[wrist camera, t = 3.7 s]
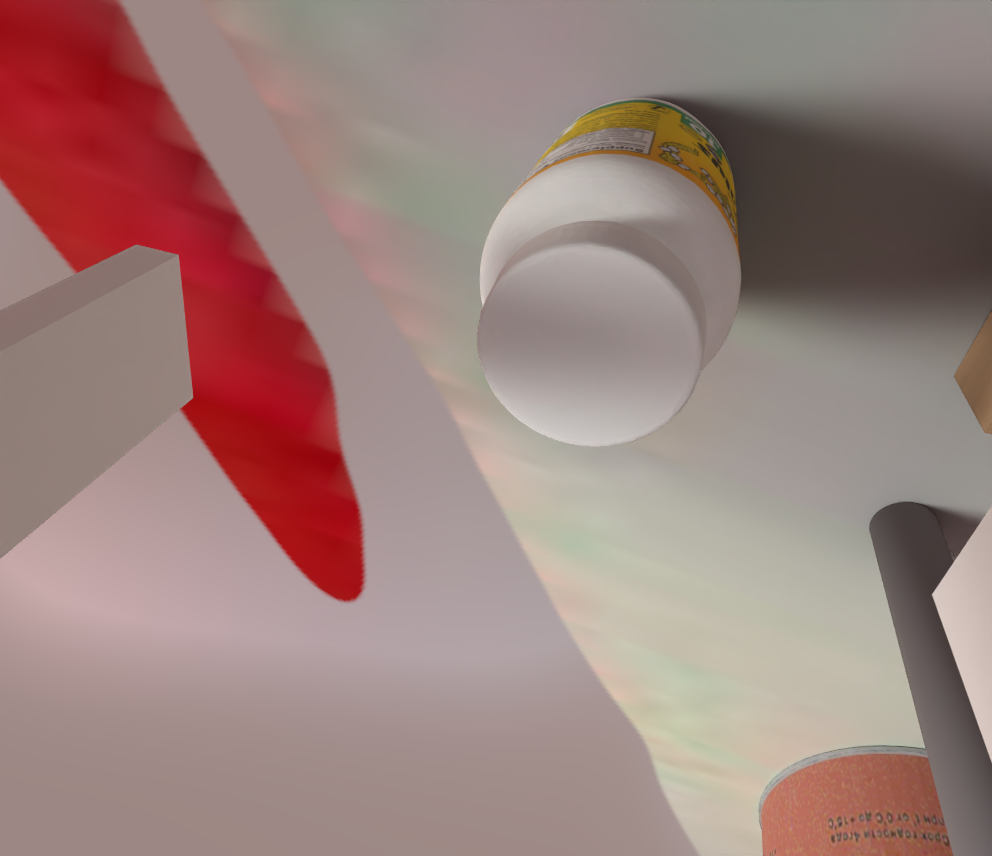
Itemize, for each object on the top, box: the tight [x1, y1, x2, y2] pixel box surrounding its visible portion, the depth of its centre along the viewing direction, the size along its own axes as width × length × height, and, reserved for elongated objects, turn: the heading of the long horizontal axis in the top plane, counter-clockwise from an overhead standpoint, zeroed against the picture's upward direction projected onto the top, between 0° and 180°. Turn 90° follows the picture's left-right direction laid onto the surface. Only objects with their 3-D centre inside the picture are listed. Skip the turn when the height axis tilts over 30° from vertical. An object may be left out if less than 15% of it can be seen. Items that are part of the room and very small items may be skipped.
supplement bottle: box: [478, 97, 742, 447], centre depth 17 cm, size 5×5×10 cm
